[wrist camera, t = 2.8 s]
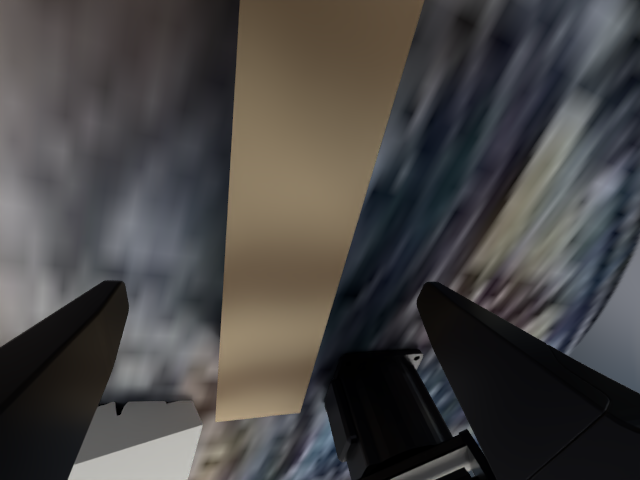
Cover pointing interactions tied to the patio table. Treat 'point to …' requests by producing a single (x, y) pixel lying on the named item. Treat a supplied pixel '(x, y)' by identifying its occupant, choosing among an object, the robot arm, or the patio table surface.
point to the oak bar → (299, 182)
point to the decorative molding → (139, 442)
